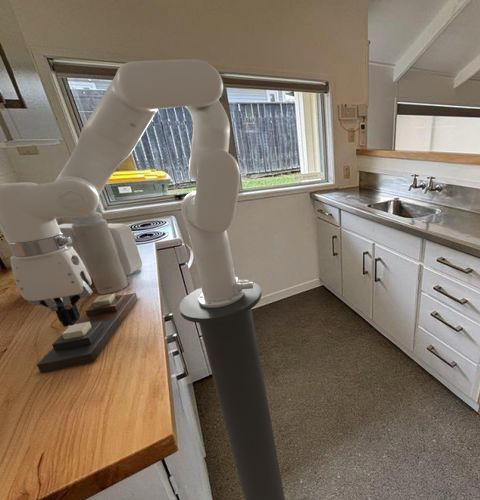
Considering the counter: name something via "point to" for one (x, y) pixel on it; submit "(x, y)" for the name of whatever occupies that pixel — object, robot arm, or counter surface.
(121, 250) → the rounded white slab
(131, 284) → the counter surface
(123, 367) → the counter surface
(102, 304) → the low key
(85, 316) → the walnut key block
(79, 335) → the high key
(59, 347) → the black key block
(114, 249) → the thermos bottle
